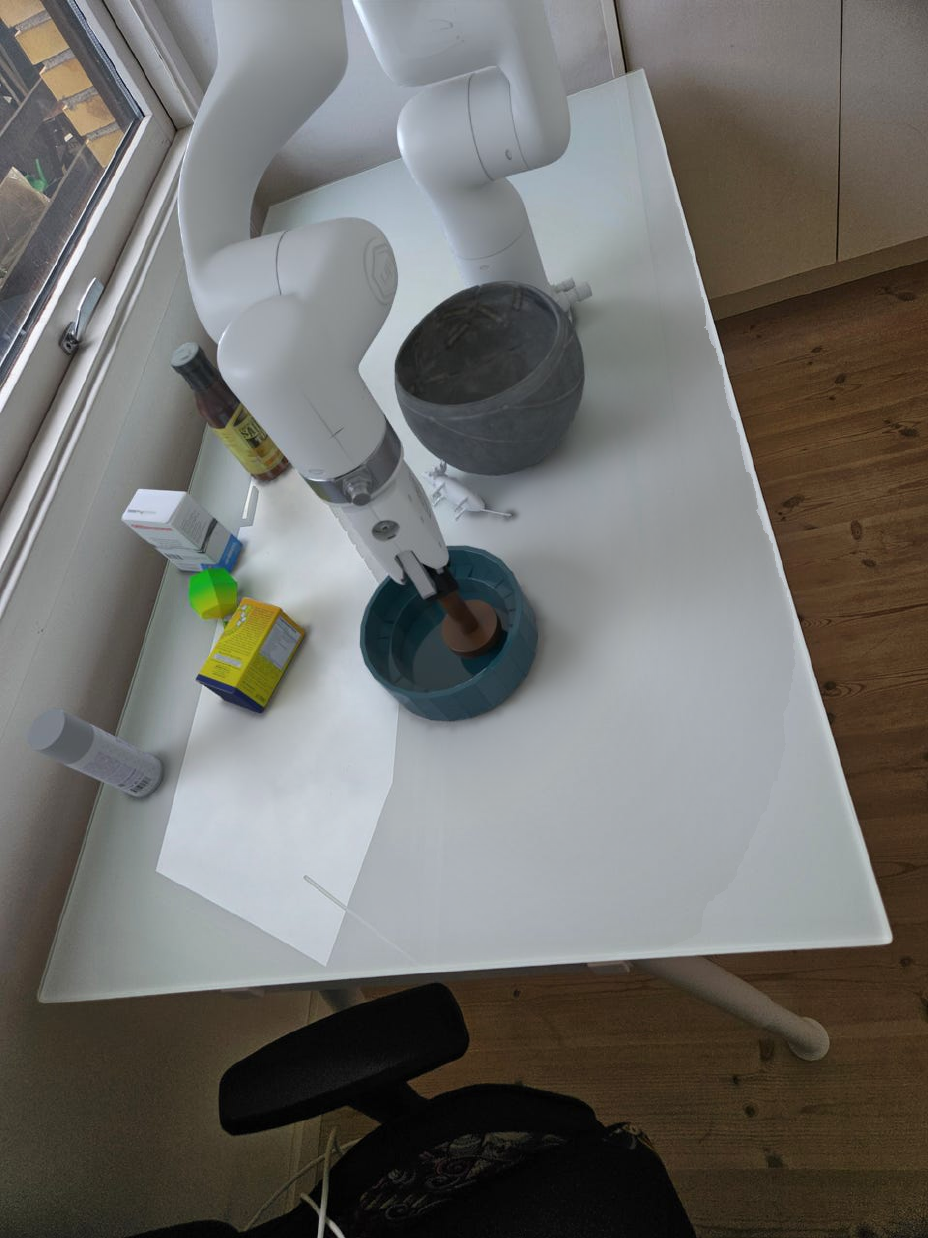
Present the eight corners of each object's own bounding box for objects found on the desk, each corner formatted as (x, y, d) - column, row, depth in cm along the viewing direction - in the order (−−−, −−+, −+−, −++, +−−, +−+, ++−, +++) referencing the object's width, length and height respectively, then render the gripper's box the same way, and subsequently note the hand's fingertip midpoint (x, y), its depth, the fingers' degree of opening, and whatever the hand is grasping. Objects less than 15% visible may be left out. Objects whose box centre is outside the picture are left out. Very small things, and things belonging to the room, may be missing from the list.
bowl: (544, 349, 104) (515, 246, 91) (635, 442, 91) (615, 338, 79) (404, 434, 104) (356, 342, 91) (476, 539, 91) (432, 450, 79)
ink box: (245, 544, 105) (189, 488, 95) (229, 577, 103) (170, 523, 93) (195, 539, 109) (136, 485, 99) (179, 571, 107) (117, 519, 97)
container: (167, 755, 92) (71, 703, 80) (159, 795, 90) (58, 748, 78) (133, 759, 94) (33, 709, 82) (124, 799, 91) (20, 754, 79)
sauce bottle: (285, 481, 108) (194, 374, 92) (246, 485, 110) (151, 380, 94) (298, 443, 111) (213, 332, 95) (260, 447, 113) (170, 339, 97)
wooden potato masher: (491, 597, 84) (436, 510, 71) (509, 643, 81) (455, 560, 68) (439, 621, 85) (376, 539, 72) (455, 668, 82) (392, 590, 69)
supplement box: (223, 701, 93) (270, 620, 97) (261, 715, 90) (308, 631, 94) (192, 679, 88) (242, 595, 92) (231, 693, 86) (282, 606, 89)
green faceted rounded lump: (191, 587, 102) (211, 652, 100) (169, 571, 96) (190, 639, 93) (243, 566, 102) (265, 630, 100) (225, 549, 96) (248, 616, 94)
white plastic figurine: (407, 473, 92) (434, 447, 94) (413, 501, 97) (439, 475, 99) (490, 525, 88) (516, 496, 90) (492, 551, 93) (517, 523, 95)
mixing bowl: (508, 553, 90) (490, 519, 84) (563, 680, 80) (546, 650, 75) (370, 618, 92) (344, 589, 87) (408, 750, 82) (381, 726, 77)
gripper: (422, 507, 55) (503, 632, 70) (370, 366, 64) (452, 504, 79) (325, 555, 56) (425, 668, 71) (287, 409, 65) (383, 537, 80)
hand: (439, 581), depth 75 cm, fingers closed on wooden potato masher
